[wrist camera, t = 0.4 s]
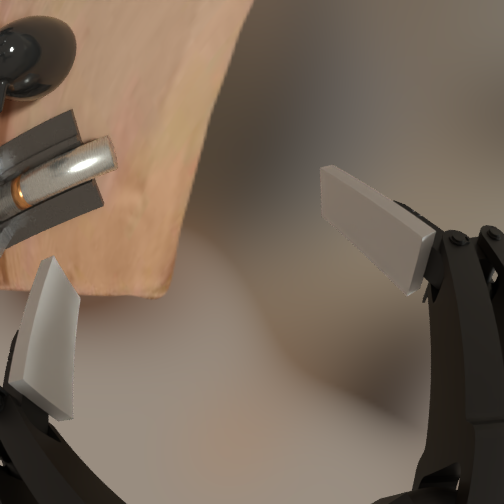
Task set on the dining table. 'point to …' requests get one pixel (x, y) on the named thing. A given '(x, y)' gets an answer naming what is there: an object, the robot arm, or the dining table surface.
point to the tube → (57, 176)
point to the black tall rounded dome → (34, 57)
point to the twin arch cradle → (32, 155)
